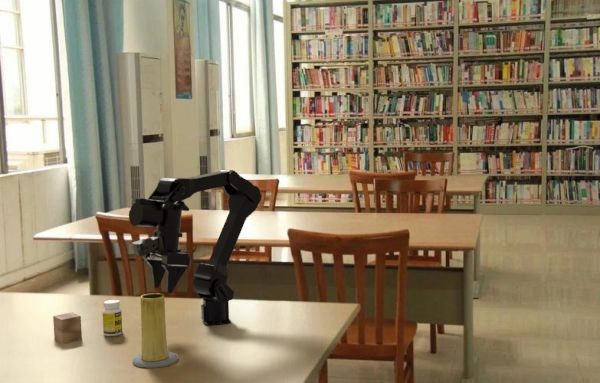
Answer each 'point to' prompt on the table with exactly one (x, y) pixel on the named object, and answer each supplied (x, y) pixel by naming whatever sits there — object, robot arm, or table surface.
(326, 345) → the table surface
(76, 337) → the walnut block
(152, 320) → the vase
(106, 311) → the supplement bottle
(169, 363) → the mat
